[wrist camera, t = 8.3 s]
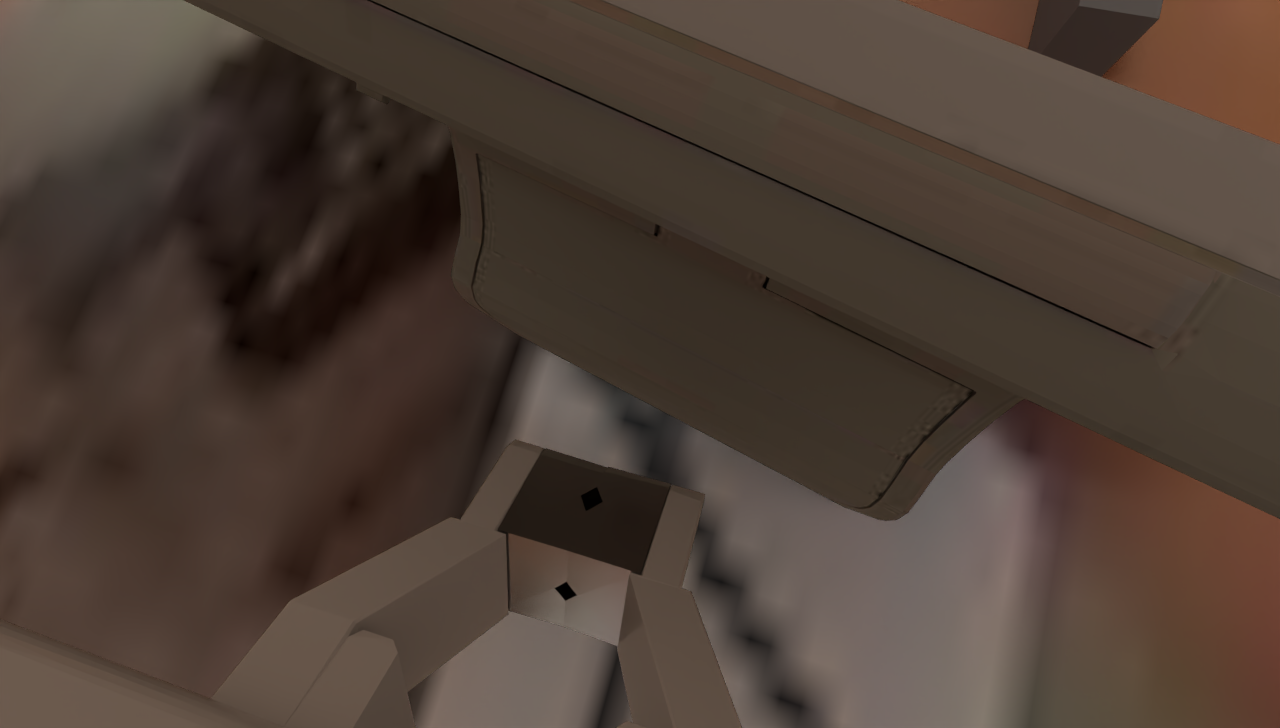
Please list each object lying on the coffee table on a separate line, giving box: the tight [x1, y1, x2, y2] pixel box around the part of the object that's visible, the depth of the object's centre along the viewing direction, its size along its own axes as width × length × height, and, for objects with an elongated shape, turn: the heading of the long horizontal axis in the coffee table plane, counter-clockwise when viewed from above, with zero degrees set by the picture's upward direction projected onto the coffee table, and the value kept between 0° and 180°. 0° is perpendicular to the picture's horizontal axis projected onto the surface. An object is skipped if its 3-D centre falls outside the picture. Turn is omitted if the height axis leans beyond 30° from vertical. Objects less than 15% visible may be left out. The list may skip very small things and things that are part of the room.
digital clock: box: [184, 0, 1280, 521], centre depth 10 cm, size 16×9×11 cm, turn 51°
